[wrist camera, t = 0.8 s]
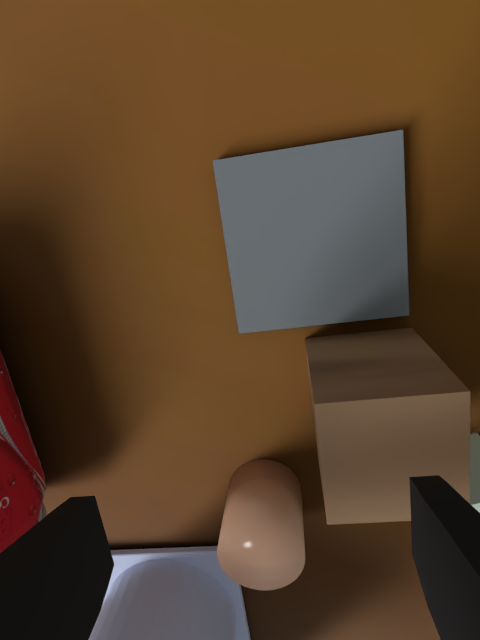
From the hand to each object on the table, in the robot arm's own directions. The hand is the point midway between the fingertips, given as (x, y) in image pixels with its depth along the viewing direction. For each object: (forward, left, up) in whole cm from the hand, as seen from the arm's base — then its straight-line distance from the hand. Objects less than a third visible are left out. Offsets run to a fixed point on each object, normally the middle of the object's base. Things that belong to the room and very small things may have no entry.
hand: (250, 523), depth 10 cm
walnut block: (-1, -4, -10) cm, 11 cm away
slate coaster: (+5, -3, -10) cm, 11 cm away
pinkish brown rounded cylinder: (-7, +1, -10) cm, 12 cm away
